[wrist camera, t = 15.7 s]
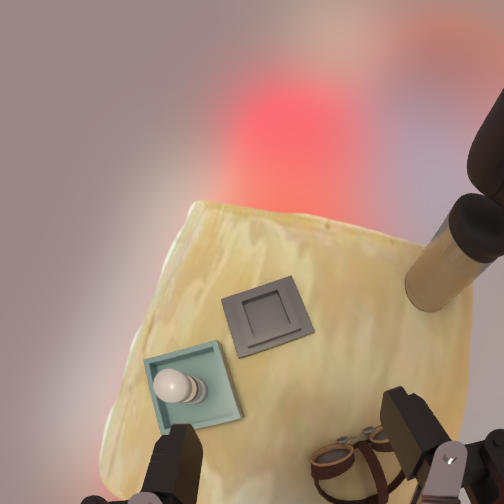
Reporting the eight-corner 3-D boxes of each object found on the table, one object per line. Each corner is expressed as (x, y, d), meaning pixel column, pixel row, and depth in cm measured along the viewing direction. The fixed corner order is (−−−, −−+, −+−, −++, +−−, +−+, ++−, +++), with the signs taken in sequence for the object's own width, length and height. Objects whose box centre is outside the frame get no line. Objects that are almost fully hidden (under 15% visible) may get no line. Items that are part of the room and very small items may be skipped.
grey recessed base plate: (291, 278, 46) (291, 271, 44) (314, 332, 41) (315, 328, 39) (222, 301, 46) (218, 295, 44) (239, 358, 41) (236, 355, 38)
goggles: (399, 410, 33) (431, 425, 23) (408, 472, 29) (436, 495, 19) (303, 447, 32) (312, 476, 23) (320, 507, 28) (331, 541, 19)
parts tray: (221, 344, 42) (216, 339, 39) (244, 417, 36) (240, 418, 33) (153, 363, 41) (143, 359, 38) (170, 433, 35) (161, 434, 32)
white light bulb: (203, 374, 39) (180, 365, 31) (211, 400, 37) (189, 398, 28) (178, 380, 39) (150, 372, 30) (185, 406, 37) (157, 405, 28)
